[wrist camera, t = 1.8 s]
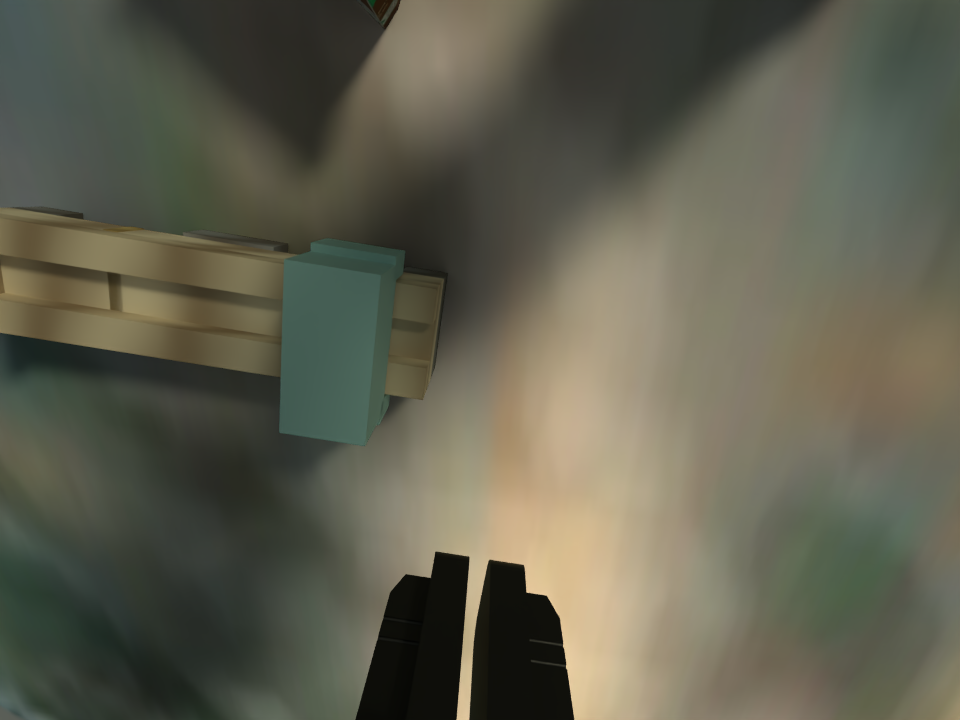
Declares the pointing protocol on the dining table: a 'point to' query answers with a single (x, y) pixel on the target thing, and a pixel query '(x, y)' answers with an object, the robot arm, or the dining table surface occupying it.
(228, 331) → the beam
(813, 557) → the dining table surface
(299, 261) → the rider
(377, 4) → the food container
